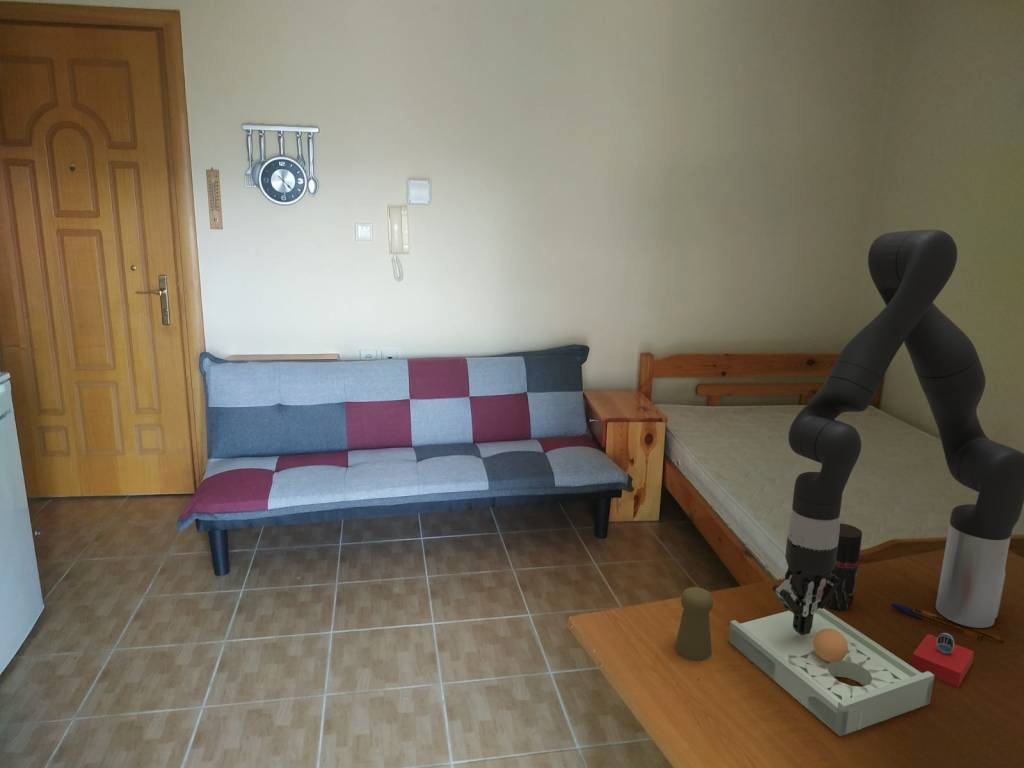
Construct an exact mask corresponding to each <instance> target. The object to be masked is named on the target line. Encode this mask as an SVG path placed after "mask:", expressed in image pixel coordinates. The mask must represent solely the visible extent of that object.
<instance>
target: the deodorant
mask: <svg viewBox="0 0 1024 768" xmlns="http://www.w3.org/2000/svg"><path fill="white" fill-rule="evenodd" d="M862 537H863V532H862V530H861V529H859V528H857V527H856V526H854V525H851V524H848V523H841V522H840V531H839V540H838V547H837V555H836V563H835V568H834V569H833V570H832V574H833V575H835V576H837V577H838V578H840V579H841V583H840V585H839V586H838V588H837V589H836V590H835V592H834V593H833V595H832V596H831V598H830V599H829V601H828V602H827V604H826V605H825V607H824V608H826V609H829V610H832V611H837V612H847V611H851V609H852V608H853V607H854V606H853V605H854V604H853V603H854V597H855V589H856V582H857V576H858V574H857V573H858V568H859V562H860V561H859V560H860V554H861V553H860V552H861V545H862ZM823 595H824V593H822V597H823Z"/></svg>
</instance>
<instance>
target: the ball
mask: <svg viewBox="0 0 1024 768" xmlns="http://www.w3.org/2000/svg"><path fill="white" fill-rule="evenodd" d="M813 646H814V649H815V652H816V653H817V655H818V656H819V657H820V658H822V659H823V660H825V661H828V662H838V661H841V660H842V659H843V658H844V657H845V656H846V654H847V651H848V644H847V641H846V639H845V638H844V636H843V635H842V634H841V633H839V632H838V631H836V630H833V629H823V630H820V631H819V632H818V633H817V634H816V635H815V637H814V640H813Z"/></svg>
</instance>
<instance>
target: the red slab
mask: <svg viewBox="0 0 1024 768" xmlns="http://www.w3.org/2000/svg"><path fill="white" fill-rule="evenodd" d="M974 655H975V651H973V650H972V649H968V648H966V647H963V646H960V645H958V644H956V643H955V639H954V637H953V635H952V634H950V633H947V632H943V633H940V634H939V635H938V636H935V635H932V634H929V633H927V634H926V636H925V637H924V638H923V639H922V641H921V642H920V644H919V645H918V647H917V648H916V649H915V650H914V652H913V653H912V655H911V656H912V657H911V663H910V666H912V667H913V668H915V669H916V670H918V671H919V672H921V673H924V672H927V671H929V672H931V673H932V674H934V679H937V680H938V681H941V682H944V683H946V684H948V685H950V684H951V686H953V687H955V686H956V687H955V688H959V687H960V685H961V684H962V682H963V681H962V680H964V679H965V677H966V676H967V674H968V672H969V671H970V669H971V668H972V665H973V662H974V661H973V659H974ZM965 675H966V676H965Z"/></svg>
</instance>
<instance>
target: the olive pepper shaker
mask: <svg viewBox="0 0 1024 768" xmlns="http://www.w3.org/2000/svg"><path fill="white" fill-rule="evenodd" d="M680 604H681V606H682V608H683V610H682V615H681V619H680V622H679V623H680V624H679V627H678V631H677V636H676V641H675V644H674V648H675V651H676V653H677V654H678V655H679V656H681V657H683V658H684V659H687V660H690V661H695V662H696V661H697V662H698V661H700V662H702V661H705V660H707V659H709V658H710V657H711V656H712V639H711V625H710V623H711V622H710V612H711V611H712V610H713V605H714V598H713V596H712V594H711V592H710V591H708V590H707V589H705V588H702V587H698V586H691V587H687V588H686V589H684V590H683V591H682V593H681V595H680Z"/></svg>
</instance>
